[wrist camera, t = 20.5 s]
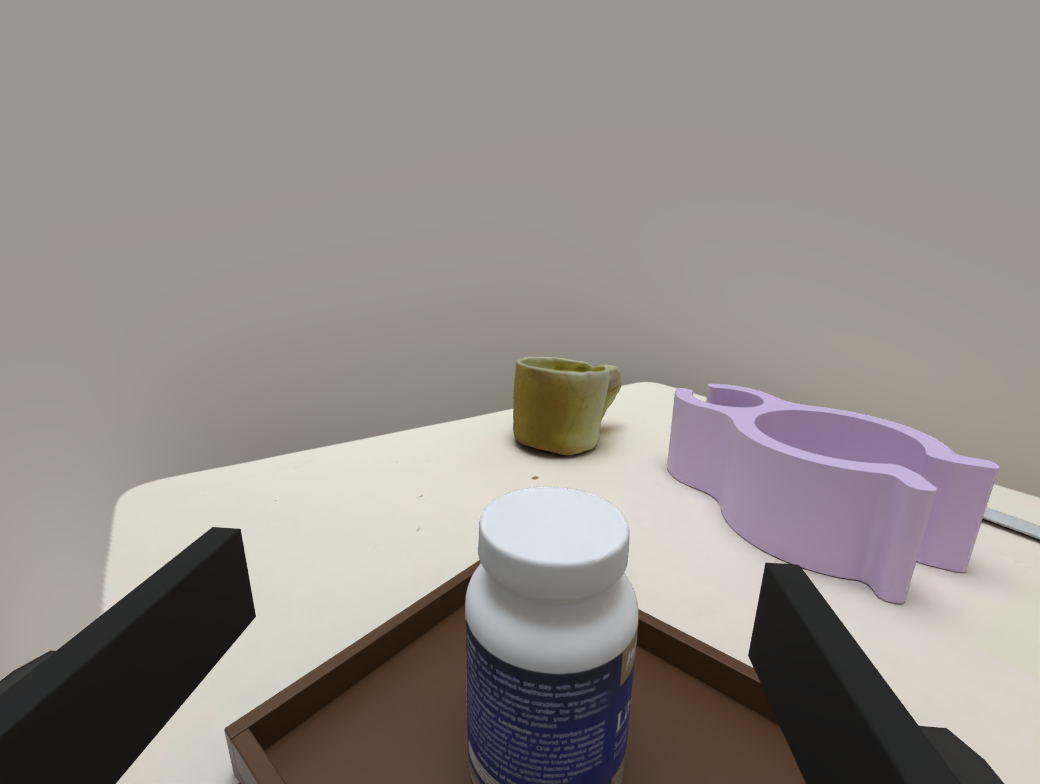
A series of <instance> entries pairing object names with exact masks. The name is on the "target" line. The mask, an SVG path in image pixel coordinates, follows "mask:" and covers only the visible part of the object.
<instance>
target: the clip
mask: <svg viewBox="0 0 1040 784" xmlns="http://www.w3.org/2000/svg"><path fill="white" fill-rule="evenodd" d="M667 469H668V471H669V473H670V474H671V475H672V476H673V477H674V478H676V479H677V480H679V481H680V482H682V483H684V484H686V485H688V486H691V487H693V488H696V489H699V490H701V491H704V492H706V493H708V494H710V495H711V496H713V497H714V498H715V499H716V500H717V501H718V502H719V504H720V506H721V511H722V514H723V516H724V518H725V520H726V521H727V523H728V524H729V525H730V526H731V527H732V528H733V529H734V530H735V531H736V532H737V533H738V534H739V535H740V536H742V537H743V538H744V539H745V540H747V541H748V542H750V543H751V544H753V545H754V546H756V547H758V548H759V549H761V550H763V551H765V552H767V553H769V554H771V555H773V556H775V557H777V558H779V559H782V560H784V561H786V562H789V563H791V564H794V565H800V567H802V568H805V569H808V570H812V571H815V572H819V573H822V574H827V575H831V576H835V577H841V578H846V579H853V580H859V581H862V582H864V583H866V584H868V585H869V586H870V587H871V588H872V589H873V591H874V592H875V594H876V595H877V596H878V597H879V598H881V599H883V600H885V601H888V602H892V603H899V604H901V603H904V602H905V599H906V596H907V592H908V589H909V585H910V582H911V578H912V575H913V571H914V568H915V564H916V561H917V562H920V563H923V564H926V565H930V566H934V567H938V568H943V569H947V570H951V571H955V572H966V569H967V566H968V563H969V560H970V556H971V553H972V550H973V547H974V544H975V541H976V538H977V535H978V532H979V528H980V525H981V522H982V519H983V516H984V513H985V510H986V507H987V503H988V500H989V497H990V494H991V491H992V488H993V485H994V482H995V478H996V475H997V472H998V469H999V466H998V465H997V464H995V463H993V462H991V461H987V460H983V459H977V458H970V457H965V456H961V455H957V454H955V453H954V452H952V450H951V449H950V448H949V447H947V446H946V445H945V444H943V443H942V442H940V441H938V440H937V439H935V438H933V437H931V436H929V435H927V434H925V433H922V432H920V431H917V430H915V429H912V428H910V427H907V426H904V425H901V424H898V423H895V422H891V421H888V420H884V419H881V418H877V417H873V416H868V415H864V414H859V413H855V412H850V411H844V410H838V409H832V408H824V407H816V406H808V405H801V404H796V403H792V402H788V401H785V400H782V399H779V398H777V397H775V396H773V395H770V394H767V393H765V392H762V391H758V390H754V389H750V388H745V387H740V386H733V385H724V384H709V385H708V393H707V400H706V402H704V401H701V400H699V399H697V398H695V397H694V396H693V391H692V390H690V389H685V388H678V389H676V391H675V397H674V406H673V416H672V425H671V434H670V444H669V453H668V462H667Z"/></svg>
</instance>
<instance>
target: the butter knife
mask: <svg viewBox="0 0 1040 784" xmlns="http://www.w3.org/2000/svg"><path fill="white" fill-rule="evenodd" d="M983 519H986V520H989V521H991V522H994V523H997V524H999V525H1002V526H1005V527H1008V528H1010V529H1013V530H1016V531H1018V532H1021V533H1024V534H1027V535H1029V536H1032V537H1035V538H1038V539H1040V526H1038V525H1035V524H1033V523H1030V522H1027V521H1024V520H1021V519H1019V518H1016V517H1013V516H1010V515H1007V514H1004V513H1002V512H999V511H996V510H993V509H990V508H987V507H986V510H985V513H984V516H983Z"/></svg>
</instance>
